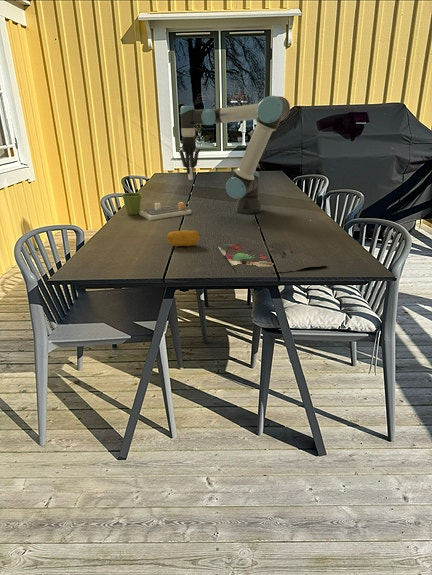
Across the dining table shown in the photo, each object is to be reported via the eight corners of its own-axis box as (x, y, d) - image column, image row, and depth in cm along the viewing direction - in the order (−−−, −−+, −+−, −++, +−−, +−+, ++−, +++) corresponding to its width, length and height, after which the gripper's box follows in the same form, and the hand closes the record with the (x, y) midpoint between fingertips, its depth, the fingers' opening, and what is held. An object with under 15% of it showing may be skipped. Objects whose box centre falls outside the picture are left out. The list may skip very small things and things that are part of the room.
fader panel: (191, 213, 233) (190, 203, 230) (150, 220, 220) (149, 209, 218) (179, 208, 245) (178, 198, 242) (139, 214, 233) (138, 204, 230)
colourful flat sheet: (239, 279, 144) (239, 274, 143) (217, 249, 175) (217, 245, 174) (327, 269, 151) (327, 264, 150) (290, 242, 182) (290, 238, 181)
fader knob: (184, 209, 233) (184, 202, 231) (181, 210, 232) (180, 203, 230) (182, 208, 235) (181, 201, 233) (178, 209, 234) (178, 202, 232)
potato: (168, 243, 182) (167, 228, 179) (200, 243, 181) (199, 228, 178) (166, 248, 175) (165, 233, 172) (199, 248, 175) (198, 232, 172)
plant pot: (139, 216, 229) (137, 196, 224) (120, 215, 231) (117, 196, 226) (146, 211, 239) (145, 192, 235) (128, 211, 242) (126, 192, 237)
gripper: (195, 135, 227) (197, 177, 237) (175, 136, 221) (177, 179, 231) (202, 135, 221) (203, 179, 231) (180, 137, 215) (183, 181, 225)
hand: (190, 179), depth 231 cm, fingers closed
